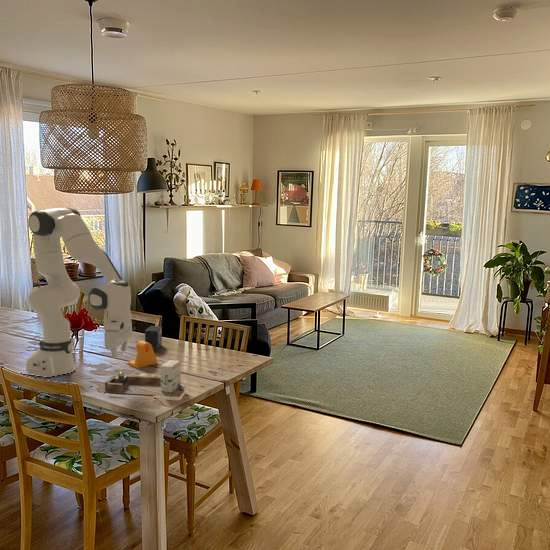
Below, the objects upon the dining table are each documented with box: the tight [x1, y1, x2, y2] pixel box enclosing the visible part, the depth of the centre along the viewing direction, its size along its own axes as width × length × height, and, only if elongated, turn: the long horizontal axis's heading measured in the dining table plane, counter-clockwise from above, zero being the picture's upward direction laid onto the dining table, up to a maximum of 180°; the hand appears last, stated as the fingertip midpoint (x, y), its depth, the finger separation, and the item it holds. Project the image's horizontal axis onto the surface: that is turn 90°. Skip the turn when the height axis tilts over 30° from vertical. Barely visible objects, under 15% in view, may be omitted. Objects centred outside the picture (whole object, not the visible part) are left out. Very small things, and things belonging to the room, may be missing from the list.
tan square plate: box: [137, 372, 157, 377], centre depth 234 cm, size 7×7×1 cm
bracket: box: [128, 340, 158, 369], centre depth 249 cm, size 11×7×12 cm, turn 140°
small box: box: [144, 325, 163, 352], centre depth 278 cm, size 11×6×10 cm, turn 178°
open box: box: [103, 374, 161, 397], centre depth 221 cm, size 20×11×4 cm, turn 85°
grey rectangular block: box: [114, 370, 129, 389], centre depth 221 cm, size 4×4×6 cm
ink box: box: [159, 359, 181, 393], centre depth 220 cm, size 9×5×12 cm, turn 163°
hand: (119, 354), depth 220 cm, fingers open, 8 cm apart
